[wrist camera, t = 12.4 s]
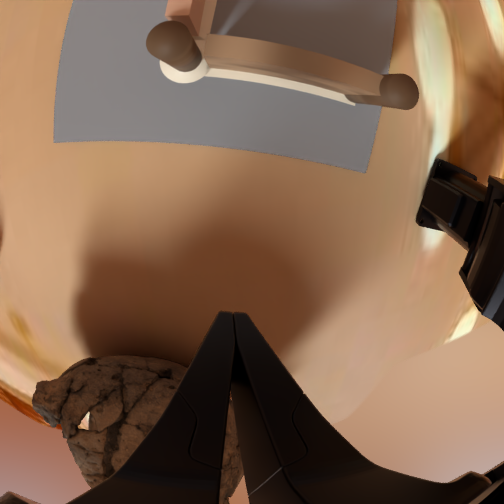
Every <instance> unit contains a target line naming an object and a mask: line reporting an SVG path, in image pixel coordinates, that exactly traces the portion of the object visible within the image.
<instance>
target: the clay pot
mask: <svg viewBox="0 0 504 504" xmlns="http://www.w3.org/2000/svg"><path fill="white" fill-rule="evenodd" d="M187 369H188V368H186V367H184V366H182V365H180V364H178V363H175V362H172V361H168V360H164V359H159V358H154V357H140V356H128V355H119V356H105V357H98V358H91V357H90V358H86V359H83V360H81V361H79V362H77V363H75V364H74V365H72V366H71V367H69V368H68V369H67V370H66V371H65V372H64V373H62V375H61V376H60V377H59V378H58V379H54V380H51V381H47V380H46V381H41V382H37V385H36V391H35V393H34V394H33V399H32V404H33V409H34V410H35V411H36V412H37V413H39V414H40V415H41V416H43V418H44V420H45V422H47V423H49V424H50V425H51V427H56V425H57V424H61V426H62V433H63V438H66V439H67V443H68V446H69V448H70V451H71V452H72V454H73V457H74V459H75V462H76V464H77V465H78V466H79V468H80V470H81V471H82V475H83V477H84V478H85V480H86V482H87V484H88V485H89V486H90V487H91V489H92V488H93V487H95V486H96V485H98V484H100V483H101V482H103V481H104V480H106V479H107V478H109V477H110V476H111V475H113V474H114V473H115V472H116V471H117V470H118V469H119V468H120V467H121V466H122V465H123V464H124V463H125V462H126V460H127V459H128V458H129V457H130V456H131V454H132V453H133V452H134V450H135V449H136V448H137V447H138V445H139V444H140V443H141V442H142V440H143V439H144V438H145V437H146V435H147V434H148V433H149V431H150V430H151V429H152V427H153V426H154V425H155V423H156V422H157V420H158V419H159V418H160V416H161V415H162V413H163V411H164V410H165V408H166V406H167V405H168V403H169V401H170V400H171V398H172V396H173V394H174V392H175V391H176V389H177V387H178V385H179V384H180V382H181V380H182V378H183V376H184V374H185V373H186V371H187ZM88 412H90V415H89V430H86V429H79V428H78V425H80V423H81V420H83V418H84V417H85V415H86V414H87V413H88ZM221 472H222V474H221V485H220V501H219V504H229V498H228V497H231V496H232V495H233V493H234V491H235V489H236V487H237V486H238V484H239V482H240V481H241V479H242V477H243V475H244V471H243V465H242V460H241V454H240V448H239V442H238V435H237V429H236V423H235V416H234V410H233V403H232V401H231V399H229V408H228V417H227V426H226V436H225V445H224V454H223V464H222V470H221Z"/></svg>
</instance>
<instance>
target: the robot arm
mask: <svg viewBox="0 0 504 504" xmlns="http://www.w3.org/2000/svg"><path fill="white" fill-rule="evenodd" d="M439 163H440V166H439ZM421 219H422V220H421ZM420 220H421V221H420ZM416 223H417V224H418V225H419V226H422V227H426V228H431V229H435V230H440V231H444V232H446V233H447V234H448V235H449V236H451V237H452V238H453V239H454V240H455V241H456V242H458V243H459V244H460V245H461V246H462V247H463V248H464V249H466V250H467V251H468V253H467V256H466V258H465V261H464V264H463V266H462V267H461V269H460V271H459V275H460V276H461V278H462V280H463V282H464V284H465V286H466V288H467V290H468V292H469V294H470V297H471V298H472V300H473V302H474V304H475V305H476V307H477V309H478V310H479V311H480V312H481V314H482V315H483V316H485V317H487V318H489V319H491V320H492V321H493V322H494V323H496V324H497V325H498V326H499V327H500V328H501V329H502V330H503V331H504V179H500V178H497V177H493V176H490V175H489V178H488V187H486V186H484V185H483V184H481V183H479V182H477V177H476V176H475V175H473V174H471V173H469V172H467V171H465V170H463V169H461V168H459V167H457V166H455V165H453V164H450V163H448V162H446V161H444V160H442V159H439V158H438V159H436V160H435V162H434V166H433V169H432V173H431V176H430V179H429V183H428V186H427V189H426V192H425V195H424V198H423V201H422V204H421V207H420V209H419V212H418V215H417V218H416ZM230 390H231V396H232V403H233V410H234V416H235V423H236V429H237V435H238V442H239V448H240V454H241V460H242V465H243V471H244V476H245V482H246V487H247V493H248V496H249V497H248V498H249V503H250V504H504V461H503V462H501V463H500V464H498V465H497V466H495V467H494V468H492V469H490V470H489V471H487V472H486V473H484V474H479V473H476V472H472V471H470V472H467V473H465V474H463V475H461V476H459V477H458V478H456V479H454V480H452V481H450V482H448V483H439V482H433V481H429V480H424V479H421V478H417V477H413V476H409V475H406V474H402V473H399V472H396V471H392V470H389V469H386V468H383V467H380V466H378V465H376V464H374V463H373V462H371V461H369V460H368V459H367V458H365V457H364V456H363V455H361V453H360V452H359V451H358V450H356V449H355V448H354V447H353V446H352V445H351V444H350V443H349V442H348V441H347V440H346V439H345V438H344V437H343V436H342V435H341V434H340V433H339V432H337V430H335V428H334V427H333V426H332V425H331V424H330V423H329V422H328V421H327V420H326V419H325V418H324V417H323V416H322V415H321V413H320V412H319V411H318V410H317V408H316V407H315V406H314V405H313V404H312V402H311V401H310V400H309V398H308V397H307V396H306V394H303V390H302V389H301V388H300V387H299V385H298V384H297V382H296V381H295V380H294V378H293V377H292V376H291V374H290V373H289V372H288V370H287V369H286V368H285V366H284V365H283V364H282V362H281V361H280V359H279V358H278V357H277V355H276V354H275V353H274V351H273V350H272V348H271V347H270V346H269V344H268V343H267V341H266V340H265V339H264V337H263V336H262V334H261V333H260V332H259V330H258V329H257V327H256V326H255V324H254V323H253V322H252V320H251V319H250V317H249V316H248V315H247V314H246V313H241V312H234V313H233V314H232V312H227V311H220V312H219V313H218V314H217V316H216V318H215V320H214V321H213V323H212V325H211V327H210V329H209V331H208V332H207V334H206V336H205V338H204V340H203V342H202V343H201V345H200V347H199V349H198V351H197V353H196V354H195V356H194V358H193V360H192V362H191V363H190V365H189V367H188V369H187V371H186V373H185V374H184V376H183V378H182V380H181V382H180V384H179V385H178V387H177V389H176V391H175V392H174V394H173V396H172V398H171V400H170V401H169V403H168V405H167V406H166V408H165V410H164V411H163V413H162V415H161V416H160V418H159V419H158V420H157V422H156V423H155V425H154V426H153V427H152V429H151V430H150V431H149V433H148V434H147V435H146V437H145V438H144V439H143V440H142V442H141V443H140V444H139V445H138V447H137V448H136V449H135V450H134V452H133V453H132V454H131V456H130V457H129V458H128V459H127V460H126V462H125V463H124V464H123V465H122V466H121V467H120V468H119V469H118V470H117V471H116V472H115V473H114V474H113V475H111V476H110V477H109V478H107V479H106V480H104V481H103V482H101V483H100V484H98V485H96V486H95V487H93V488H92V489H90V490H88V491H87V492H85V493H84V494H82V495H80V496H79V497H77V498H75V499H73V500H72V501H70V502H68V503H66V504H219V501H220V485H221V474H222V472H221V470H222V464H223V454H224V445H225V436H226V426H227V417H228V408H229V399H230ZM0 504H40V503H37V502H35V501H32V500H30V499H27V498H25V497H23V496H20V495H18V494H15V493H13V492H6V493H5V494H4V495H3V496H2V497H0Z"/></svg>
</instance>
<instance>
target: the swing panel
mask: <svg viewBox="0 0 504 504" xmlns="http://www.w3.org/2000/svg"><path fill="white" fill-rule="evenodd" d="M204 5H205V0H168V3H167V7H166V12H165V17H166V18H167V19H168V21H170V20H173V21H179V22H181V23H183V24H184V25H185V26H186V27H187V28H188V30H189V31H190V33H191V35H192V36H199V31H200V25H201V20H202V15H203V9H204Z"/></svg>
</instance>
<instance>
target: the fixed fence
mask: <svg viewBox="0 0 504 504" xmlns="http://www.w3.org/2000/svg"><path fill="white" fill-rule="evenodd" d="M146 47H147V50H148V52H149V53H150V54H151V55H153V56H154V57H156V58H158V59H159V60H161V61H163V62H165V63H166V64H168V65H170V66H171V67H173V68H175V69H176V70H178V71H181V72H189V71H192V70H194V69H196V68H197V67H198V66H199V65H200V63H201V60H202V54H201V51H200V50H199V48H198V46H197V44H196V42H195V40H194V39H193V37H192V35H191V33H190V31H189V30H188V28H187V27H186V26H185V25H184V24H183V23H181V22H179V21H173V20H170V21H164V22H162V23H159V24H158V25H156V26H155V27H154V28H153V29H152V30H151V31H150V32H149V34H148V36H147V39H146ZM203 57H204V59H205V61H206V62H207V64H208V66H209V68H214V69H224V70H233V71H240V72H247V73H254V74H260V75H266V76H272V77H277V78H282V79H287V80H291V81H296V82H300V83H304V84H308V85H312V86H316V87H320V88H324V89H327V90H331V91H334V92H338V93H341V94H344V95H345V97H346V98H347V99H348V100H349V101H350V102H353V103H358V104H368V105H376V106H384V107H391V108H397V109H403V110H409V109H412V108H413V107H414V106H415V105H416V104H417V102H418V98H419V91H418V87H417V85H416V83H415V81H414V80H413V79H412V78H411V77H410V76H408V75H406V74H382V75H380V74H377V73H375V72H373V71H370V70H367V69H365V68H362V67H359V66H357V65H354V64H351V63H348V62H345V61H342V60H339V59H336V58H333V57H330V56H326V55H323V54H320V53H316V52H312V51H309V50H305V49H301V48H297V47H292V46H288V45H283V44H278V43H273V42H268V41H262V40H256V39H250V38H243V37H235V36H226V35H216V34H207V37H206V42H205V47H204V52H203Z"/></svg>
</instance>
